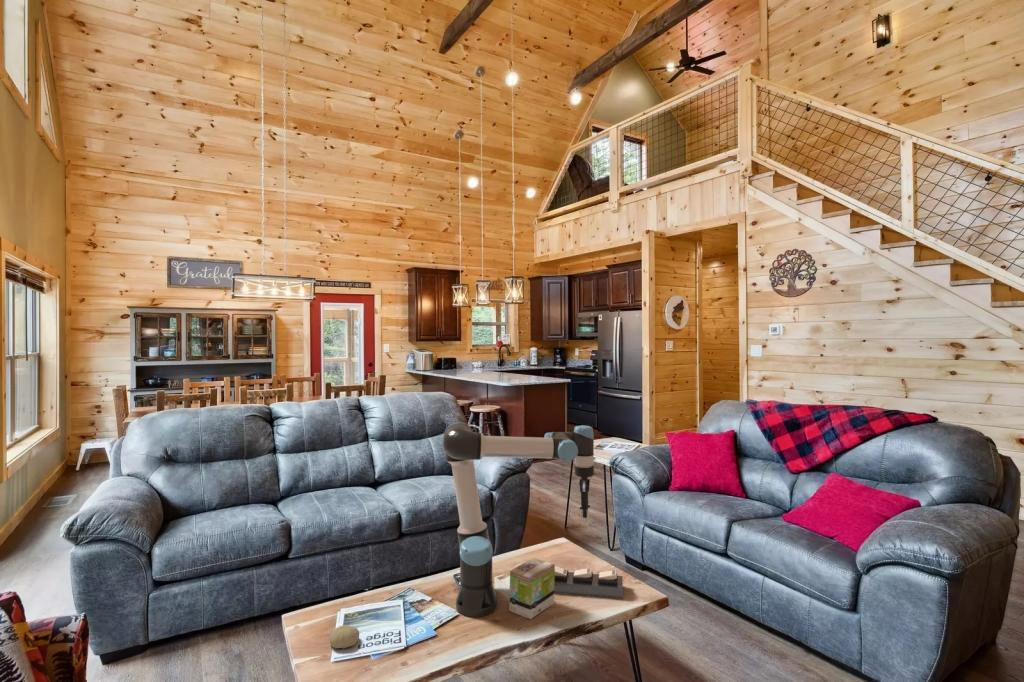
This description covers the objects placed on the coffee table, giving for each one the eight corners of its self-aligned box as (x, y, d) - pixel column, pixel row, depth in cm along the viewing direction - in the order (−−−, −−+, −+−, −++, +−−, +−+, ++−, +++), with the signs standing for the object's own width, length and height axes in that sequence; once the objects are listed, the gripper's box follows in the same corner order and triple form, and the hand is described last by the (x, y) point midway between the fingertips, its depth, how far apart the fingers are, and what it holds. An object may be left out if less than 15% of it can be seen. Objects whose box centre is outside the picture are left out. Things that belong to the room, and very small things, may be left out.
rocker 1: (549, 573, 210) (550, 569, 209) (550, 568, 214) (551, 564, 214) (565, 579, 208) (566, 574, 208) (566, 573, 213) (567, 569, 213)
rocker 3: (599, 581, 206) (598, 577, 206) (600, 576, 210) (599, 572, 210) (616, 578, 205) (615, 574, 205) (616, 573, 209) (615, 569, 209)
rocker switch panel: (542, 592, 207) (542, 577, 207) (546, 580, 217) (546, 566, 217) (622, 598, 202) (622, 583, 201) (622, 586, 211) (622, 572, 211)
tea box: (531, 620, 187) (531, 577, 187) (508, 611, 193) (508, 570, 193) (555, 603, 199) (555, 563, 199) (533, 595, 205) (532, 556, 205)
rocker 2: (574, 579, 208) (573, 575, 208) (575, 574, 212) (574, 570, 212) (591, 576, 206) (590, 572, 206) (591, 571, 211) (590, 567, 211)
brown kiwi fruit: (346, 625, 182) (356, 614, 178) (356, 647, 178) (367, 636, 174) (321, 637, 174) (331, 625, 171) (331, 661, 171) (342, 649, 167)
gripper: (593, 469, 207) (594, 531, 207) (594, 461, 220) (595, 519, 220) (573, 469, 208) (574, 530, 209) (575, 461, 221) (576, 518, 222)
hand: (585, 524), depth 215 cm, fingers closed
